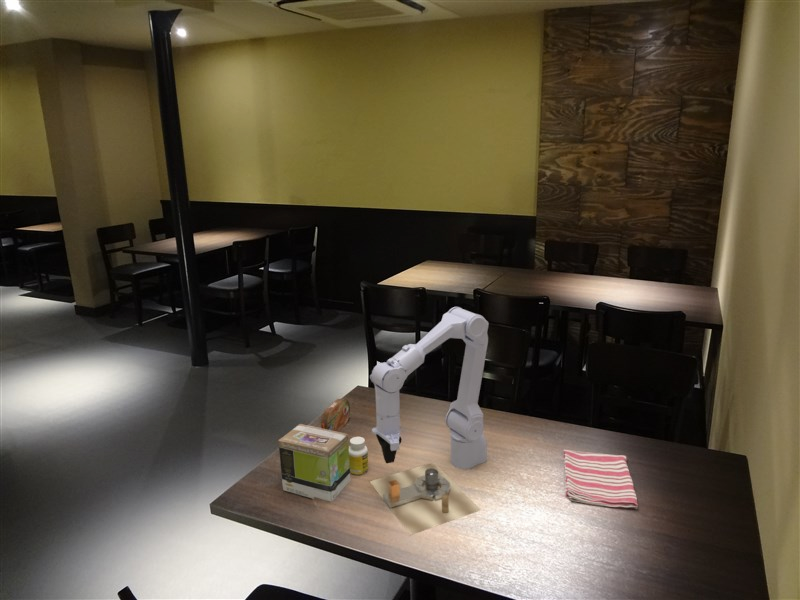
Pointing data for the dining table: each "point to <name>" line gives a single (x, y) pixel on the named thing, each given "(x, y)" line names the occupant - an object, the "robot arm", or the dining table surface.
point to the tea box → (314, 462)
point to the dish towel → (598, 479)
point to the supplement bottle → (358, 456)
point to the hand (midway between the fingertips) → (389, 461)
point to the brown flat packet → (336, 415)
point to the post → (431, 479)
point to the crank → (414, 491)
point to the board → (425, 501)
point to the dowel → (445, 503)
